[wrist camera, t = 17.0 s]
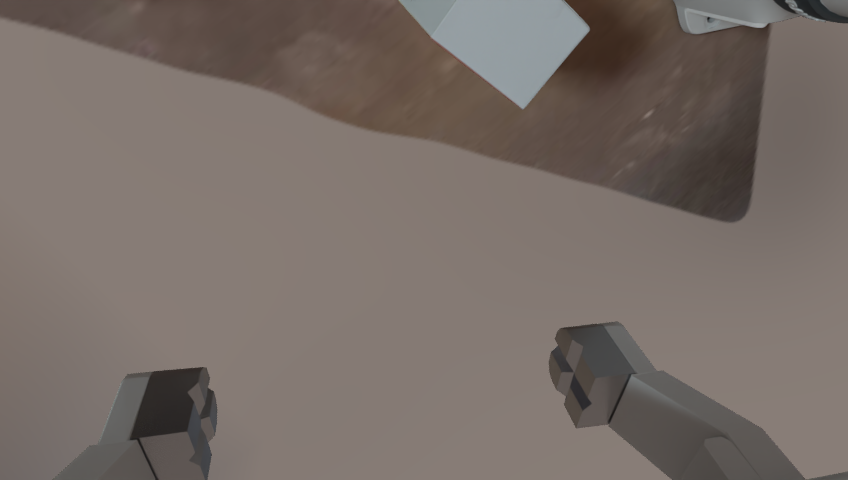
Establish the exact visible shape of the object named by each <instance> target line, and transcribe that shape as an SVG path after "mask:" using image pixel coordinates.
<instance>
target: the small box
mask: <svg viewBox="0 0 848 480" xmlns="http://www.w3.org/2000/svg"><path fill="white" fill-rule="evenodd" d="M398 1H399V2H400V3H401V5H402V6H403V7H404V8H405V9H406V10H407V11H408V12H409V13H410V15H411V16H412V17H413V18H414V19H415V20H416V22H417V23H418V24H419V25H420V26H421V27H422V28H423V30H424V31H425V32H426V33H427V34H428V36H429V37H430V38H431V39H432V40H433V41H434V42H435V43H436V44H438V45H439V46H440V47H441V48H443V49H444V50H445V51H446V52H448V53H449V54H450V55H452V56H453V57H454V58H455V59H457V60H458V61H459V62H460V63H462V64H463V65H464V66H466V67H467V68H468V69H470V70H471V71H472V72H474V73H475V74H476V75H477V76H479V77H480V78H481V79H482V80H484V81H485V82H486V83H488V84H489V85H490V86H492V87H493V88H494V89H496V90H497V91H498V92H500V93H501V94H502V95H503V96H505V97H506V98H507V99H508V100H510V101H511V102H512V103H514V104H515V105H517V106H518V107H519V108H521V109H524V108H525V107H526V106H527V105H528V103H529V102H530V101H531V100H532V99H533V97H534V96H535V95H536V94H537V92H538V91H539V90H540V89H541V88H542V86H543V85H544V84H545V83H546V82H547V80H548V79H549V78H550V77H551V76H552V74H553V73H554V72H555V71H556V70H557V69H558V67H559V66H560V65H561V64H562V63H563V62H564V60H565V59H566V58H567V57H568V56H569V54H570V53H571V52H572V51H573V50H574V49H575V47H576V46H577V45H578V44H579V43H580V42H581V40H582V39H583V38H584V37H585V36H586V35H587V33H588V32H589V31H590V27H589V26H588V25H587V24H586V22H585V21H584V20H583V19H582V18H581V17H580V16H579V15H578V14H577V13H576V12H575V11H574V10H573V9H572V8H571V7H570V6H569V5H568V4H567V3H566V2H565V1H564V0H398Z"/></svg>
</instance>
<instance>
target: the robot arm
mask: <svg viewBox="0 0 848 480" xmlns="http://www.w3.org/2000/svg"><path fill="white" fill-rule="evenodd" d="M673 1H674V3H675V4H676V8H677V13H678V18H679V22H680V25H681V28H682V29H683V31H684V32H686V33H690V34H702V33H707V32H712V31H717V30H722V29H726V28H731V27H736V26H741V25H746V26H750V27H756V28H764V27H765V26H766V25H767V24H768V23H774V22H780V21H784V20H788V19H792V18H795V17H799V16H803V17H805V18H808V19H812V20H817V21H823V22H826V21H830V22H837V23H848V0H673ZM708 17H710V18H709V20H707V18H708ZM555 340H556V342H557V344H558V346H557V347H556V348H555V349H554V350H553V351H552V352H551V355H550V359H549V371H550V375H551V379H552V382H553V384H554V385H555V388H556V389H557V390H558V391H559V392H561V393H562V394H564V395H565V396H566V399H565V403H564V405H565V408H566V409H567V412H568V413H569V415H570V417H571V419H572V421H573V423H574V425H575V427H576V428H583V427H591V426H599V425H608V424H609V427H610V428H612V429H613V430H614V431H615V432H616V433H617V434H619V435H620V436H621V437H622V438H623V439H624V440H626V441H627V442H628V443H629V444H631V445H632V446H633V447H634V448H635V449H636V450H637V451H639V452H640V453H641V454H642V455H643V456H645V457H646V458H647V459H648V460H650V461H651V462H652V463H653V464H654V465H655V466H656V467H658V468H659V469H660V470H661V471H662V472H664V473H665V474H666V475H667V476H668V477H670V478H671V479H672V480H805V478H804V477H803V476H802V475H801V474H800V472H799V471H798V470H797V469H796V468H795V466H794V465H793V464H792V463H791V462H790V461H789V459H788V458H787V457H786V456H785V455H784V454H783V452H782V451H781V450H780V449H779V448H778V446H777V445H775V443H774V442H773V441H772V440H771V438H770V437H769V436H768V435H767V434H766V432H765V431H764V430H763V429H762V428H760V427H759V426H757V425H755V424H753V423H752V422H750V421H748V420H746V419H745V418H743V417H741V416H740V415H738V414H736V413H735V412H733V411H731V410H730V409H728V408H726V407H724V406H722V405H721V404H719V403H717V402H716V401H714V400H712V399H710V398H709V397H707V396H705V395H704V394H702V393H700V392H699V391H697V390H695V389H693V388H692V387H690V386H688V385H687V384H685V383H683V382H681V381H680V380H678V379H676V378H675V377H673V376H671V375H669V374H668V373H666V372H664V371H657V370H656V369H655V368H654V366H653V365H652V364H651V363H650V361H649V360H648V358H647V357H646V356H645V354H644V353H643V352H642V350H641V349H640V348H639V346H638V345H637V344H636V342H635V341H634V340H633V338H632V337H631V336H630V334H629V333H628V331H627V330H626V329H625V327H624V326H623V325H622V324H621V323H619V322H609V323H600V324H590V325H582V326H573V327H565V328H561V329H559V330H558V332H557V334H556V337H555ZM209 380H210V377H209V374H208V371H207V368H205V367H200V368H188V369H177V370H164V371H154V372H145V373H134V374H127V376H126V377H125V378H124V379H123V381H122V382H121V385H120V387H119V390H118V393H117V396H116V398H115V401H114V403H113V406H112V409H111V411H110V414H109V416H108V419H107V422H106V424H105V427H104V429H103V432H102V435H101V437H100V440H99V442H98V445H92V446H89V447H88V448H87V449H86V450H84V452H82V453H81V454H80V455H79V456H78V457H77V458H76V459H75V460H74V461H73V462H71V463H70V464H69V465H68V466H67V467H66V468H65V469H64V470H63V471H61V472H60V474H58V475H57V476H56V477H55V478H54V479H53V480H207V479H208V473H209V467H210V462H211V456H212V454H211V450H210V447H209V444H208V442H209V441H210V440H211V439H212V438H213V437H214V436H215V432H216V425H217V404H216V398H215V394H214V391H212V390H210V389H209V388H208V385H209ZM807 480H848V472H843V473H838V474H833V475H828V476H823V477H817V478H812V479H807Z"/></svg>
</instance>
